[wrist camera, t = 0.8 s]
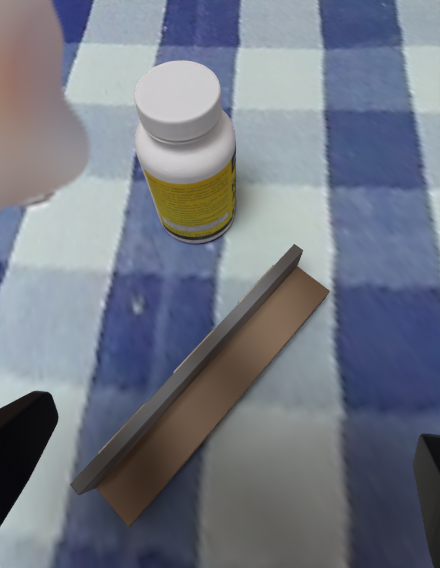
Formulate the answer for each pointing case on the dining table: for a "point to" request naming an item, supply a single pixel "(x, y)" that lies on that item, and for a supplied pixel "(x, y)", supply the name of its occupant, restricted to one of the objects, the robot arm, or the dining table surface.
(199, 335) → the dining table surface
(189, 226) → the supplement bottle
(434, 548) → the robot arm
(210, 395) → the rail
